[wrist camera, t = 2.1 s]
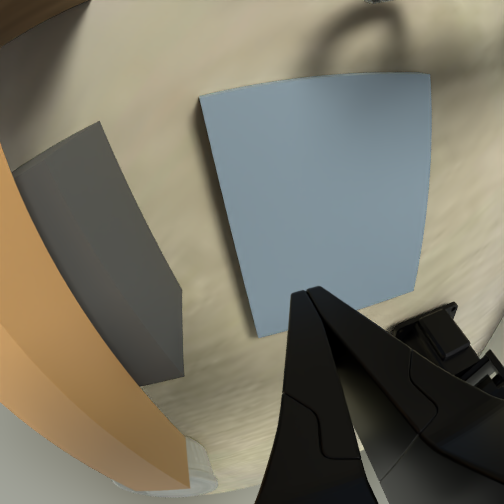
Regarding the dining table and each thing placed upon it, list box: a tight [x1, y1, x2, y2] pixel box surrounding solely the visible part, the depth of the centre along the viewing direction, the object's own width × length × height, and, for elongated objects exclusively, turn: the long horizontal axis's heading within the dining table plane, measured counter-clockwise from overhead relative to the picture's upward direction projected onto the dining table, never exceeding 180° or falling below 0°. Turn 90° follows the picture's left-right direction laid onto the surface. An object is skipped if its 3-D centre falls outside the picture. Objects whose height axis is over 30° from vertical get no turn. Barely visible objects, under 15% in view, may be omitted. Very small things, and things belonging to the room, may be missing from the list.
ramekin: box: [112, 436, 218, 497], centre depth 27 cm, size 11×11×5 cm
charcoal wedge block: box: [12, 121, 184, 387], centre depth 13 cm, size 11×5×6 cm, turn 16°
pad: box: [199, 72, 432, 338], centre depth 16 cm, size 14×11×1 cm
